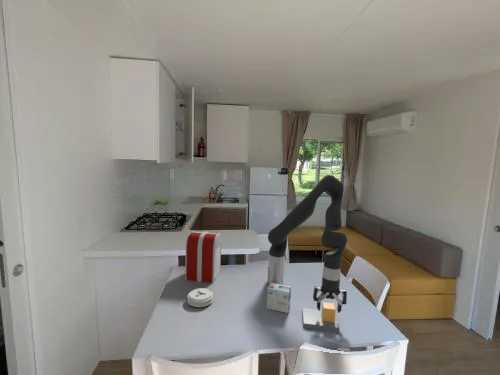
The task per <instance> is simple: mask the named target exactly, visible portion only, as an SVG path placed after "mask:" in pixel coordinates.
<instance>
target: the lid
mask: <svg viewBox="0 0 500 375" xmlns="http://www.w3.org/2000/svg"><path fill="white" fill-rule="evenodd" d="M213 301H214V293H213V291H211V290H210V289H207V288H204V287H203V288H202V287H200V288H195V289H192V290H191V291H190V292H189V293H188V294H187V304H188V305H189V306H192V307H195V308H204V307H207V306H209V305H211V304H212V303H213Z"/></svg>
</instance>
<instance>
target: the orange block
mask: <svg viewBox="0 0 500 375" xmlns="http://www.w3.org/2000/svg"><path fill="white" fill-rule="evenodd" d="M321 303H322V305H321V310H322V319H323V321H328V322H335V314H336V311H337V309H336V306H335V303H334V302H323V301H322V302H321Z"/></svg>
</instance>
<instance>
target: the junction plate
mask: <svg viewBox="0 0 500 375" xmlns="http://www.w3.org/2000/svg"><path fill="white" fill-rule="evenodd" d="M301 312H303V313H302V323H303V326H304V327H303V326H302V327H303V328H304V329H311V330H319V331H326V332H334V333H335V332H336V333H340V331H341V329H340V327H341V326H340V324H339V321H338V318H337V314H336V313H335V322H328V321H323V319H322V309H320V310H318V309H317V308H316V309H315V308H309V307H308V308H307V307H302V310H301Z"/></svg>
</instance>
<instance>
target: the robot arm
mask: <svg viewBox="0 0 500 375" xmlns="http://www.w3.org/2000/svg"><path fill="white" fill-rule="evenodd" d="M324 193H325V194H326V195H327V196H329V197H330V200H331V203H330V204H329V206H328V207H327V209H326V211H325V213H324V214H325V216H324V217H325V219H324V221H325V222H324V223H325V224H324V230H323V233H322V235H321V239H320V240H321V244H322V246H323V247H324V248H326V249H327V248H328V249H335V250H333V251H332V250H331V251H327V252H325V253H324V257H323V259H324V260H323V268H322V276H321V286H320V287H318V286H317V285H314V287H313V292H312V293H313V294H312V298H313V301H314V302H316V310H321V306H322V305H321V303H322V302H323V300H325V299H328V300H329V299H331V300H336V303H337V305H336V306H337V307H336V308H337V309H336V311H337V313H338V314H340V312H342V306H343V305H346V304H347V298H348V297H347V290H346V289H345V288H343V289H340V285H341V284H340V283H341V278H342V277H341V265H342V264H341V263H342V258H343V253H344V251H345V250H346V249H345V248H346V246H347V244H348V238H347V235H346V234H345V233H344V232H339V230H341V229H342V226H343V225H342V204H343V196H344V184H343V182H342V181H341V180H339V179H338V178H336V177H335V176H334V175H333V174H331V173H330V174H326V175H325V176H323V177H322V178H321V179H320V180H319V182H318V183H317V184H316V185H315V186H314V188H313V189H312V190H311V191H310V192H309V193H308V194H307V195H306V196H305V197H304V198H303V199H301V201H299V203H297V204H296V206H294V208H292V210H291V211H290V212H289V213H288V214H287V215H286V217H285V218H284V219H283V220H282V221H281V222H280V223H278V225H276V226H275V227H274V228H272V229H271V230H270V231H269V232H268V234H267V239H268V240H267V241H268V242H269V243H270V244H271V246H270V248H269V250H268V268H267V279H266V280H267V281H266V282H267V283H266V284H267V285H270V284H271V283H275V284H280V285H284V279H285V278H284V276H285V259H286V258H285V257H286V252H287V251H286V250H287V246H288V235H289V234H290V233H291V232H292V231H294V230H295V229H297V228H298V227H300V226H301V225H302V224H303V223H305V222H306V221H307V220H308V219H310V217H311V216H312V215H314V212H315V209H316V204H317V201H318V199H319V198H320V197H321V195H322V194H324ZM337 231H338V232H337ZM319 292H321V293H320V294H319V295H318V293H319ZM340 294H341V296H342V299H340V297H339V295H340Z"/></svg>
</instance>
